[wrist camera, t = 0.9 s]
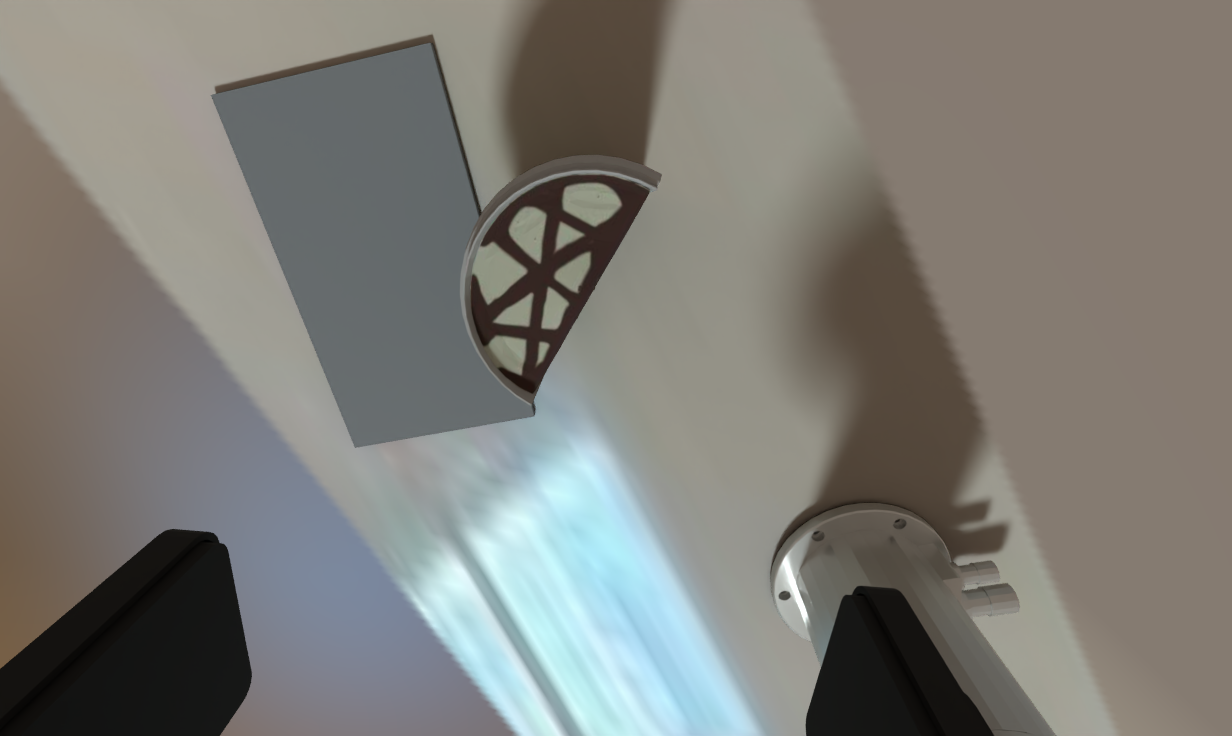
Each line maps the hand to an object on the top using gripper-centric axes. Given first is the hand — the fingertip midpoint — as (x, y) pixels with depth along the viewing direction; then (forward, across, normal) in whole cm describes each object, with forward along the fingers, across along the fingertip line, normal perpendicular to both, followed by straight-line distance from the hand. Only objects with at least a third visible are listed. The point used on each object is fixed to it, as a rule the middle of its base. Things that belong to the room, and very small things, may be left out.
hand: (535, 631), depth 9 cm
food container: (+28, +3, -2) cm, 28 cm away
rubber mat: (+28, +13, +1) cm, 30 cm away
